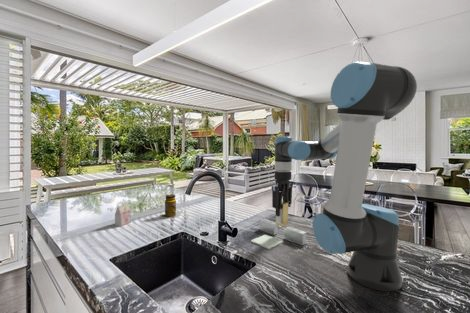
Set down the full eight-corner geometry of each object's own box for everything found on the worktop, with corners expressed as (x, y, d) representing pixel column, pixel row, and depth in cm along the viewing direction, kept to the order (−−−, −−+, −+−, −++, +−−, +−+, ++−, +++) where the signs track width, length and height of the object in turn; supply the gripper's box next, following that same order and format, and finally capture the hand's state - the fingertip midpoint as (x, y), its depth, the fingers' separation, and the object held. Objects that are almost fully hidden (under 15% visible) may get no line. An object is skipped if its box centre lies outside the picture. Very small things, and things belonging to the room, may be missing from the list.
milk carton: (115, 225, 119) (114, 206, 119) (125, 221, 126) (125, 203, 125) (120, 226, 118) (120, 207, 118) (130, 222, 125) (130, 203, 124)
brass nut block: (287, 224, 109) (288, 202, 108) (282, 226, 106) (283, 204, 106) (280, 222, 112) (281, 201, 111) (275, 223, 109) (276, 202, 108)
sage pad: (283, 242, 102) (283, 241, 102) (269, 249, 96) (269, 248, 96) (265, 235, 110) (265, 234, 110) (250, 241, 103) (250, 240, 103)
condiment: (178, 216, 136) (178, 195, 135) (163, 219, 131) (163, 197, 130) (173, 213, 142) (173, 193, 141) (159, 215, 137) (159, 195, 136)
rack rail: (306, 243, 102) (306, 232, 101) (302, 245, 100) (302, 234, 99) (263, 228, 119) (263, 218, 119) (259, 229, 117) (259, 219, 117)
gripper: (286, 169, 116) (285, 216, 117) (264, 171, 104) (263, 223, 106) (300, 170, 111) (299, 219, 112) (278, 173, 99) (277, 228, 100)
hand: (281, 221), depth 109 cm, fingers closed on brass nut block, 4 cm apart
